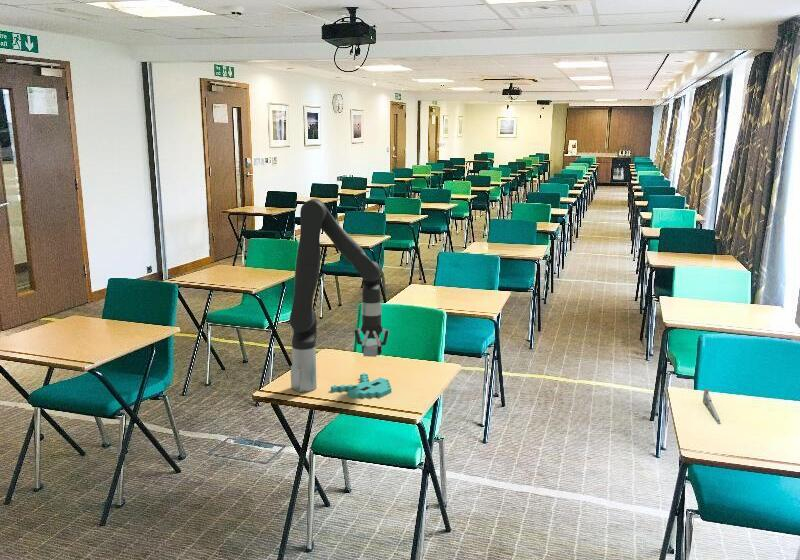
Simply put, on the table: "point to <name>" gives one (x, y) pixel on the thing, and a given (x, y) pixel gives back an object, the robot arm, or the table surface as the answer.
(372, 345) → the grey rectangular block
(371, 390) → the alien figure
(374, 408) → the table surface
